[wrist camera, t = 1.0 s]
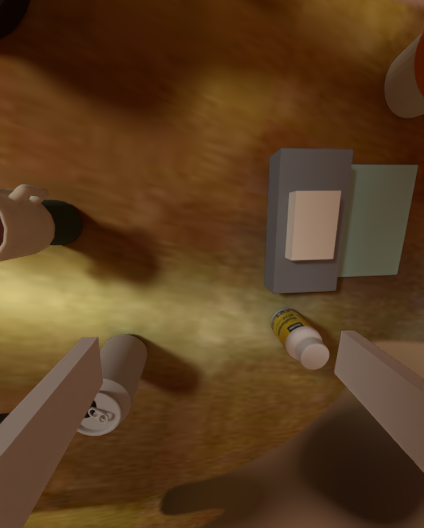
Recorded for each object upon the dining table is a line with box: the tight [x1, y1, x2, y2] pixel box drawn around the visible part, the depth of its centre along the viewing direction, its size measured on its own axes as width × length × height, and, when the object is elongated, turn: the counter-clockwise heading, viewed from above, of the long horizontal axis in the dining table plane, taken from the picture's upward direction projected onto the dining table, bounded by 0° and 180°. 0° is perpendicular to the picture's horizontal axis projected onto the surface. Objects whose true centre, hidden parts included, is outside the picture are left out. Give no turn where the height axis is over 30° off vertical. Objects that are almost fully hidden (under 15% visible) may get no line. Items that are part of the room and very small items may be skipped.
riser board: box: [264, 148, 354, 294], centre depth 31 cm, size 20×10×4 cm, turn 1°
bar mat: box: [338, 165, 418, 277], centre depth 33 cm, size 18×14×1 cm
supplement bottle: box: [271, 308, 329, 370], centre depth 32 cm, size 5×5×10 cm
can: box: [77, 335, 148, 436], centre depth 29 cm, size 8×8×12 cm
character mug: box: [0, 184, 82, 261], centre depth 23 cm, size 11×7×13 cm, turn 131°
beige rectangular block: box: [285, 191, 341, 260], centre depth 28 cm, size 9×6×2 cm, turn 1°
